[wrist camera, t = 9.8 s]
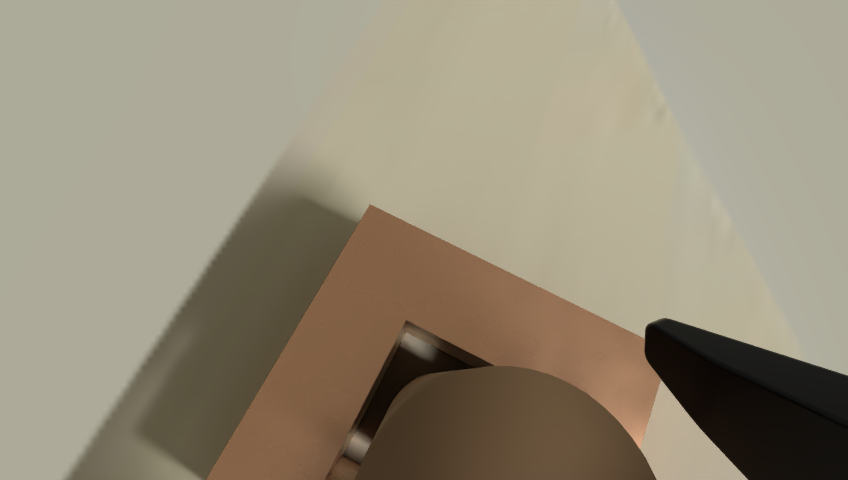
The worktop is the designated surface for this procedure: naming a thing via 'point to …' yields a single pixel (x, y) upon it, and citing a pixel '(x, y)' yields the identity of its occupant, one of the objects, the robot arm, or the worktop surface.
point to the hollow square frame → (431, 322)
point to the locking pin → (500, 431)
